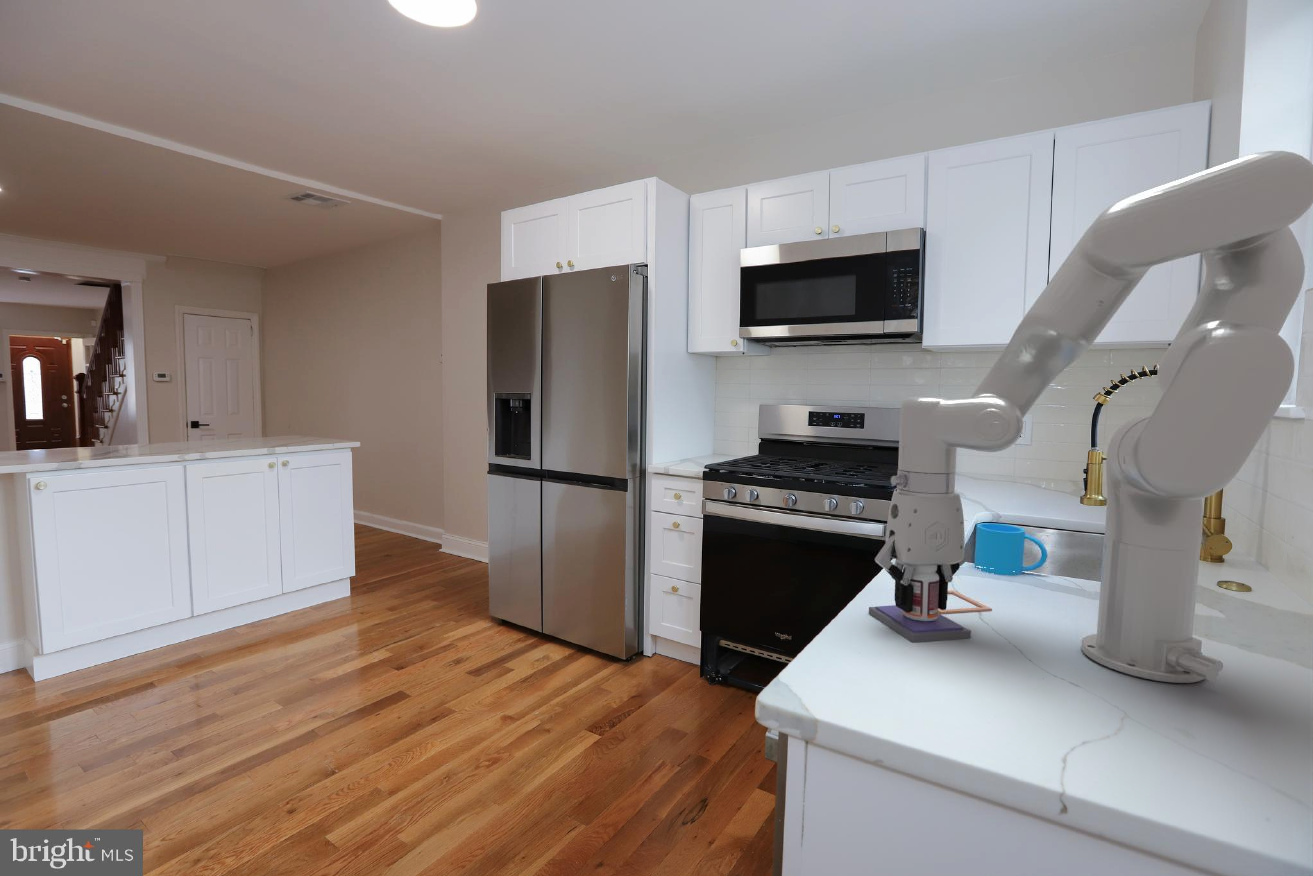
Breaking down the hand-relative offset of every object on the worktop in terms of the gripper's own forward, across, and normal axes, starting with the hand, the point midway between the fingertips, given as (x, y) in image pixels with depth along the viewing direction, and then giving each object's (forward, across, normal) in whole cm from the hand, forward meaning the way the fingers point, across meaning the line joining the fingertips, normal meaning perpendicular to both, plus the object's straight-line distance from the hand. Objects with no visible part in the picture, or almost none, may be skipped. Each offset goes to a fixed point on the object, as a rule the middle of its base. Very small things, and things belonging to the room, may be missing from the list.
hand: (920, 606), depth 91 cm
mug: (+3, +35, +22) cm, 41 cm away
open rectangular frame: (+3, +11, +8) cm, 14 cm away
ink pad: (+3, 0, 0) cm, 3 cm away
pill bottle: (+2, 0, 0) cm, 2 cm away
